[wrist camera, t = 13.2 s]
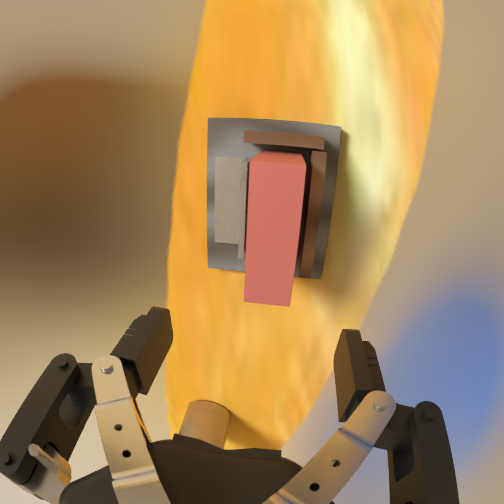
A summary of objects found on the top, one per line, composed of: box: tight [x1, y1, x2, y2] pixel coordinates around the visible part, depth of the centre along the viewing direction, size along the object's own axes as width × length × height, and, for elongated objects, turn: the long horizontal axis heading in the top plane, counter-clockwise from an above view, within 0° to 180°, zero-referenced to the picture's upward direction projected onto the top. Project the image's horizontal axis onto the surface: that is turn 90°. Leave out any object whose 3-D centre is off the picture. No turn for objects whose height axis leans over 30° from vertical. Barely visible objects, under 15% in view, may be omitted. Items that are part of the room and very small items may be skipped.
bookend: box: [215, 156, 252, 259], centre depth 30 cm, size 10×4×4 cm, turn 178°
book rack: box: [207, 118, 341, 279], centre depth 30 cm, size 18×14×6 cm
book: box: [244, 150, 306, 307], centre depth 26 cm, size 4×12×10 cm, turn 178°
